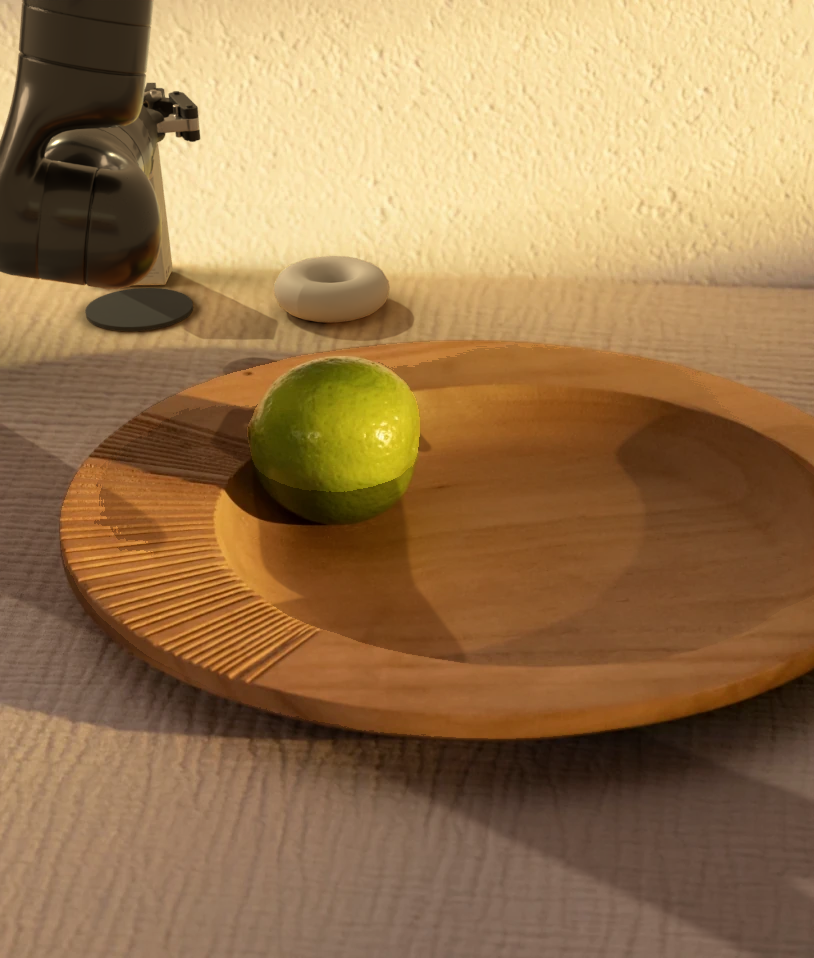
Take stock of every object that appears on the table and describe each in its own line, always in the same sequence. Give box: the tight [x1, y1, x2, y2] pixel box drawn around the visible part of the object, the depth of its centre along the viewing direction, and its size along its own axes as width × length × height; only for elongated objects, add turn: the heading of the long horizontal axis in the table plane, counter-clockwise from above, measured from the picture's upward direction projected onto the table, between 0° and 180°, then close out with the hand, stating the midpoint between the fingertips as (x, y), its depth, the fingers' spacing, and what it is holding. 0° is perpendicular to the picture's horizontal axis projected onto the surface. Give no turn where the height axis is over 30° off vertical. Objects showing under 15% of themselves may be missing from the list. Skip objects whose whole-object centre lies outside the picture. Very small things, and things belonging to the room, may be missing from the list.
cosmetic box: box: [133, 142, 174, 286], centre depth 118 cm, size 6×4×12 cm
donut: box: [273, 255, 391, 323], centre depth 115 cm, size 10×4×10 cm
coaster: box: [84, 287, 194, 332], centre depth 114 cm, size 9×9×1 cm
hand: (118, 96), depth 107 cm, fingers closed on pill bottle, 4 cm apart
